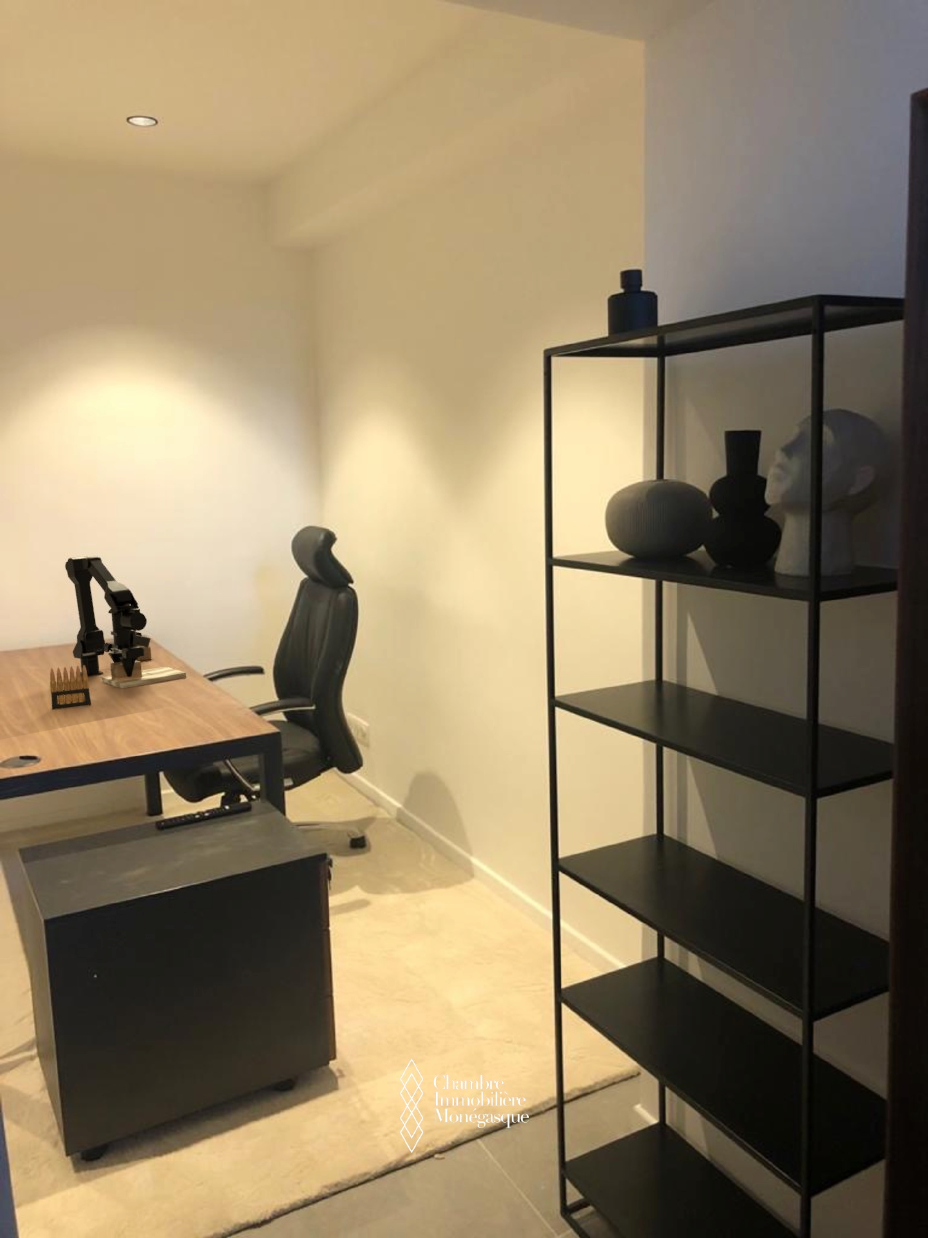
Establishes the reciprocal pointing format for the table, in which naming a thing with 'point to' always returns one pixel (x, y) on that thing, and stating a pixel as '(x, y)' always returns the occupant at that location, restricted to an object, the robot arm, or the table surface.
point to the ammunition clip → (69, 689)
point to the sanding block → (119, 671)
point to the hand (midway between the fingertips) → (126, 675)
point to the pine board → (147, 677)
